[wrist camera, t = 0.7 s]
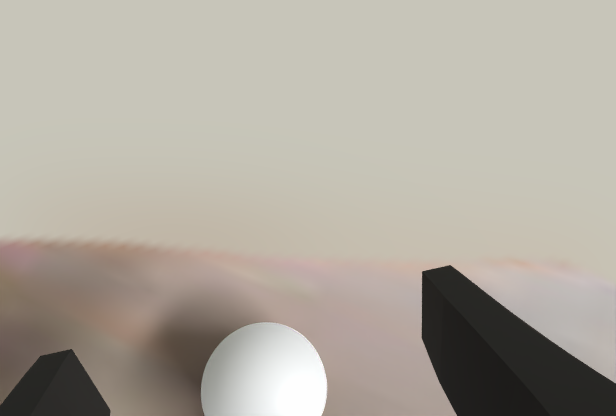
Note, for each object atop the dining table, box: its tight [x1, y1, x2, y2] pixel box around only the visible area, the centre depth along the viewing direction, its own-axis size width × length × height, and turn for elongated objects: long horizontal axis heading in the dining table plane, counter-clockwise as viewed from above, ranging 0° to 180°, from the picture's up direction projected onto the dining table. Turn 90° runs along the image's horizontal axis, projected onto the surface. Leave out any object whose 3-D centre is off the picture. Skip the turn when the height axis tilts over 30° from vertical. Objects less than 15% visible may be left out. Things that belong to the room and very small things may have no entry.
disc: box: [201, 322, 327, 416], centre depth 21 cm, size 6×6×2 cm
